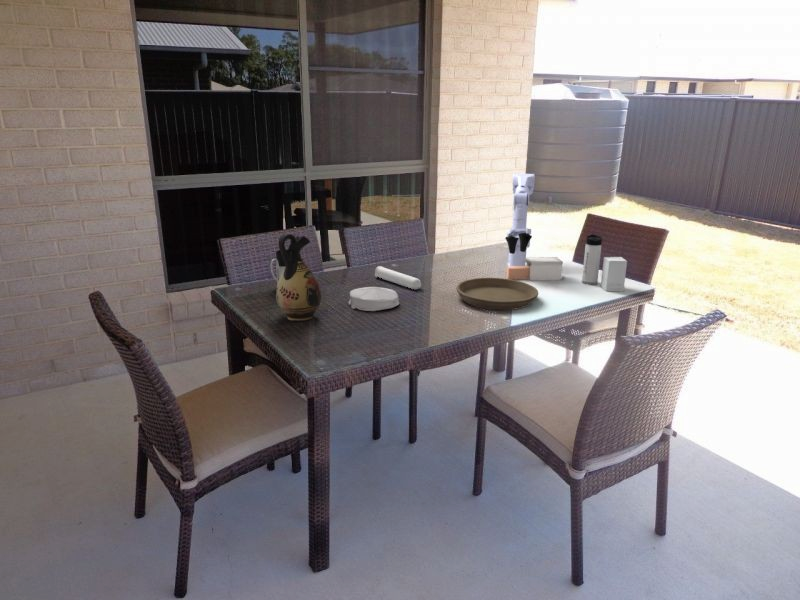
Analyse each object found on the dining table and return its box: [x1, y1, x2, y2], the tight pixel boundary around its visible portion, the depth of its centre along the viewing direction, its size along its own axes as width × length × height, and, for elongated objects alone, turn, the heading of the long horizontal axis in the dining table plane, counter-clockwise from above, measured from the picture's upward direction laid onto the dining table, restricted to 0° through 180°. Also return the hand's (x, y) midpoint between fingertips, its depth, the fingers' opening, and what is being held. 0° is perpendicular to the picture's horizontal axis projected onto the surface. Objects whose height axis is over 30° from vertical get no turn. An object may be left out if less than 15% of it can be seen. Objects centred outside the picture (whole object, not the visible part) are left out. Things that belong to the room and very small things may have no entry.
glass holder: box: [270, 249, 291, 284], centre depth 241 cm, size 9×14×15 cm, turn 155°
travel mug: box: [581, 234, 603, 286], centre depth 252 cm, size 6×7×20 cm
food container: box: [347, 286, 400, 312], centre depth 226 cm, size 20×20×7 cm
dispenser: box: [524, 256, 564, 281], centre depth 261 cm, size 8×15×8 cm, turn 94°
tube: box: [374, 265, 422, 291], centre depth 252 cm, size 5×5×25 cm
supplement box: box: [600, 256, 628, 292], centre depth 245 cm, size 7×7×13 cm
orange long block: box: [505, 265, 530, 280], centre depth 261 cm, size 4×16×5 cm, turn 94°
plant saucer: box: [456, 277, 539, 311], centre depth 232 cm, size 31×31×5 cm
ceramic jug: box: [275, 232, 322, 321], centre depth 207 cm, size 17×15×30 cm
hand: (517, 252), depth 256 cm, fingers open, 7 cm apart
